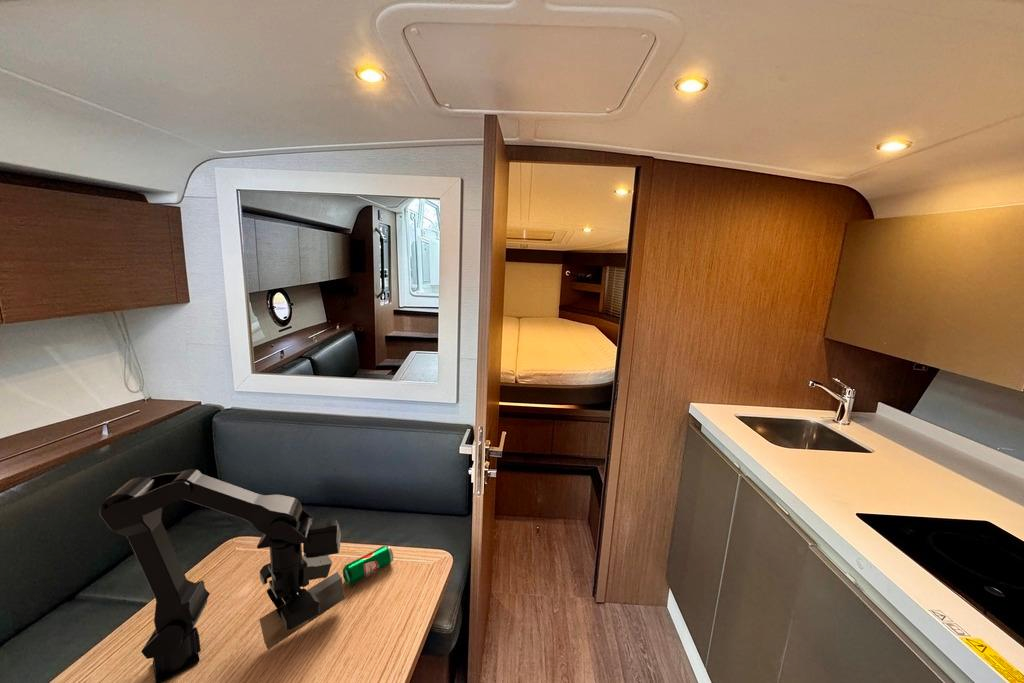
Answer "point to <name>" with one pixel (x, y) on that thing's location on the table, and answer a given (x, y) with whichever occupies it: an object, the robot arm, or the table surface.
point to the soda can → (367, 565)
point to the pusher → (328, 597)
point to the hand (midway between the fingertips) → (290, 623)
